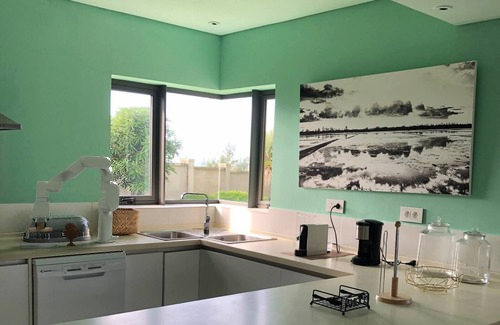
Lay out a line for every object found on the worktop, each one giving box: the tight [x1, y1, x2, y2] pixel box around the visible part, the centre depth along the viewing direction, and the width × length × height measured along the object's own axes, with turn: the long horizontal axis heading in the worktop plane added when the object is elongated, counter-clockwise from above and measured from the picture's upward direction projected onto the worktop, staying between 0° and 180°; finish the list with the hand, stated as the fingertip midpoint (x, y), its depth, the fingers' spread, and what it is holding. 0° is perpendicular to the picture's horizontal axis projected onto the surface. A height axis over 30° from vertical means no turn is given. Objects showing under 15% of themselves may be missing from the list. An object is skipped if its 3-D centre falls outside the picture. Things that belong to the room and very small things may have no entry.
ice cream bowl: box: [62, 222, 81, 247], centre depth 329 cm, size 11×11×15 cm
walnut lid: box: [28, 220, 53, 233], centre depth 322 cm, size 14×14×5 cm
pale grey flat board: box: [20, 242, 60, 250], centre depth 322 cm, size 22×18×1 cm
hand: (40, 228), depth 322 cm, fingers closed on walnut lid, 4 cm apart
